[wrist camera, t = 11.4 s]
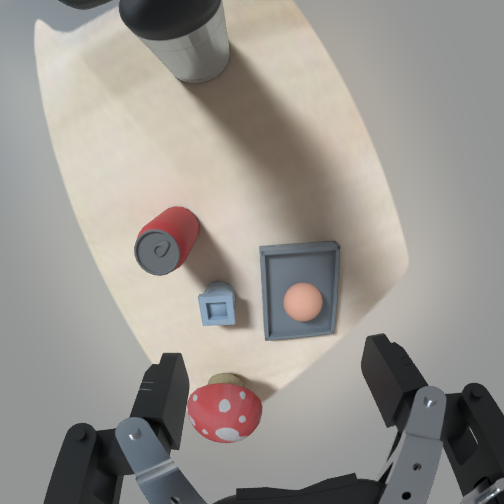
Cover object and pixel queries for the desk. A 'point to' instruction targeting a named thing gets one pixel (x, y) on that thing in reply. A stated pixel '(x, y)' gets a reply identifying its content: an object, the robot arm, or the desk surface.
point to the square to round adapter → (217, 304)
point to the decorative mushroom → (224, 409)
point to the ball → (303, 301)
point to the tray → (292, 272)
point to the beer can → (166, 241)
